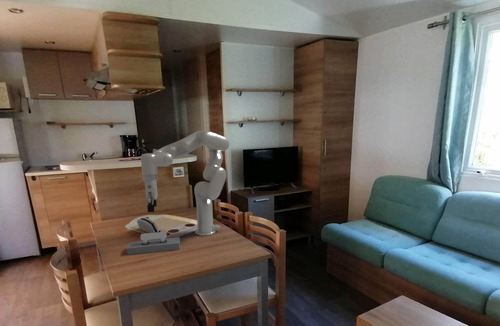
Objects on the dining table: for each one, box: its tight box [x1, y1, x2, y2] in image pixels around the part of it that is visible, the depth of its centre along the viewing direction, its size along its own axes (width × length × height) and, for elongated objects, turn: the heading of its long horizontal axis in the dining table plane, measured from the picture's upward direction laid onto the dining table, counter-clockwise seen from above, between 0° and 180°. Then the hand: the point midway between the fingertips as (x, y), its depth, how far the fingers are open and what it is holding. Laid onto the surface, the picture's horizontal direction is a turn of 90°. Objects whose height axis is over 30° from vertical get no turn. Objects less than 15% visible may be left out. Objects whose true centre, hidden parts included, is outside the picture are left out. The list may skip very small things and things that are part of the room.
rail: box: [126, 236, 181, 256], centre depth 148 cm, size 26×8×4 cm, turn 103°
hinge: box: [136, 216, 162, 233], centre depth 173 cm, size 17×5×10 cm, turn 52°
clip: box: [140, 231, 168, 245], centre depth 148 cm, size 13×3×8 cm, turn 102°
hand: (152, 209), depth 145 cm, fingers open, 9 cm apart
